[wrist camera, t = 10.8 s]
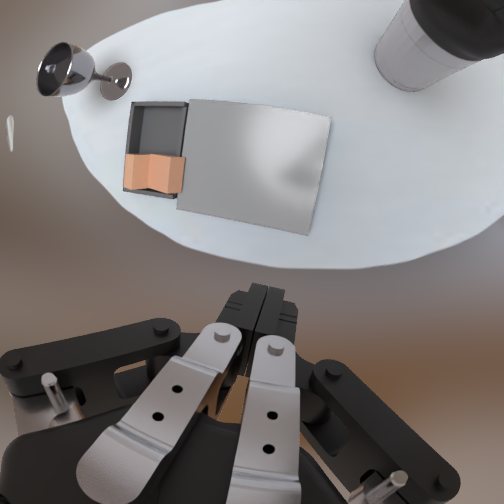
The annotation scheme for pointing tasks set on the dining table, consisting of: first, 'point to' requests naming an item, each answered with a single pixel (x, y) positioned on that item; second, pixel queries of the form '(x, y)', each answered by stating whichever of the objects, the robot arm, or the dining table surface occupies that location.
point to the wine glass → (78, 73)
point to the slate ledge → (253, 163)
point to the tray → (156, 133)
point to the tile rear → (136, 171)
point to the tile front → (165, 173)
